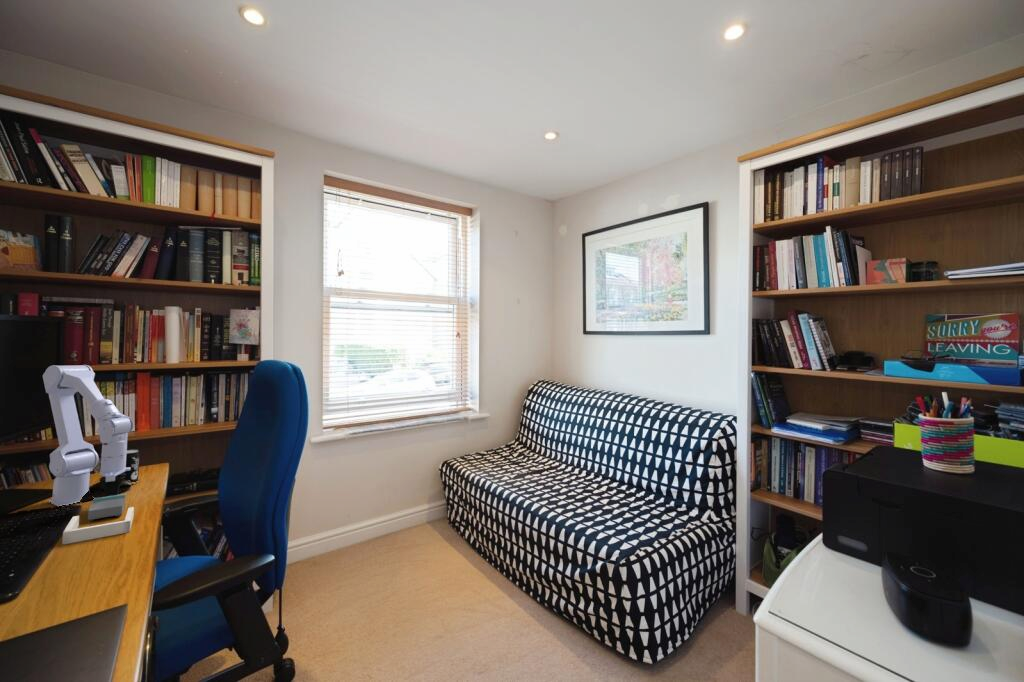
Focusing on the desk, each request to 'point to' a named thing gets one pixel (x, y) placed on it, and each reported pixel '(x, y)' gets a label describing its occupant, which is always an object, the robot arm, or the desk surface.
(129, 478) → the beverage can
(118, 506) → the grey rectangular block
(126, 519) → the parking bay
